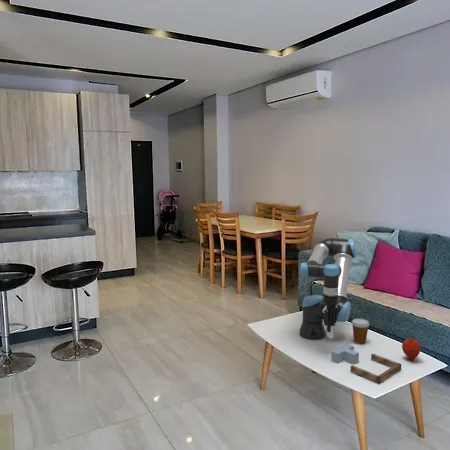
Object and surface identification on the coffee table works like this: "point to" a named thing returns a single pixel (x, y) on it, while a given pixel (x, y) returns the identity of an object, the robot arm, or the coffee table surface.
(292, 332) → the coffee table surface
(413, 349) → the apple
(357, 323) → the disposable coffee cup
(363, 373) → the walnut fence
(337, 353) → the t block
